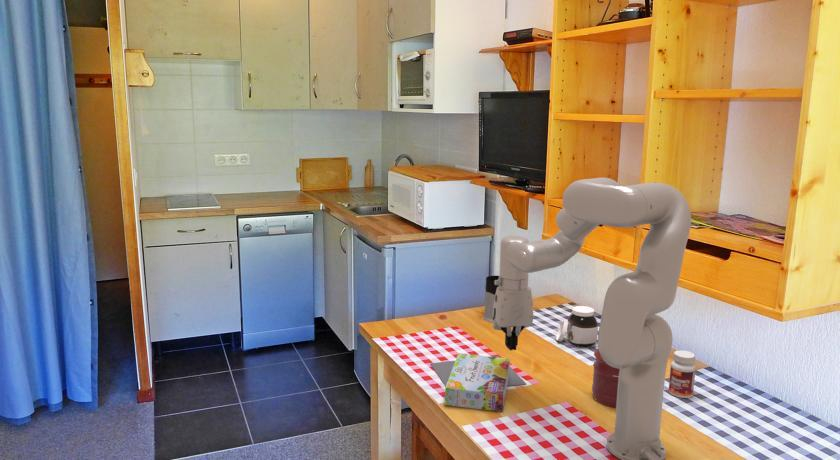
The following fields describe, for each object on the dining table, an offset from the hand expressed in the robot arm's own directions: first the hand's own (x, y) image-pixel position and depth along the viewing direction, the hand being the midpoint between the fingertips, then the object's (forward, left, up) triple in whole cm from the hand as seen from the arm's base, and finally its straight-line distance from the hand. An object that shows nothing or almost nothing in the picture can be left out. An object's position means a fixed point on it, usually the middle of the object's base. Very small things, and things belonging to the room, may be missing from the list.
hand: (511, 348), depth 171 cm
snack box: (-4, +2, -8) cm, 9 cm away
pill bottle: (-15, -43, -12) cm, 47 cm away
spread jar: (+25, -33, -12) cm, 43 cm away
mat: (+10, +6, -11) cm, 16 cm away
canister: (-13, -25, -12) cm, 30 cm away
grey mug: (+51, -18, -12) cm, 55 cm away
